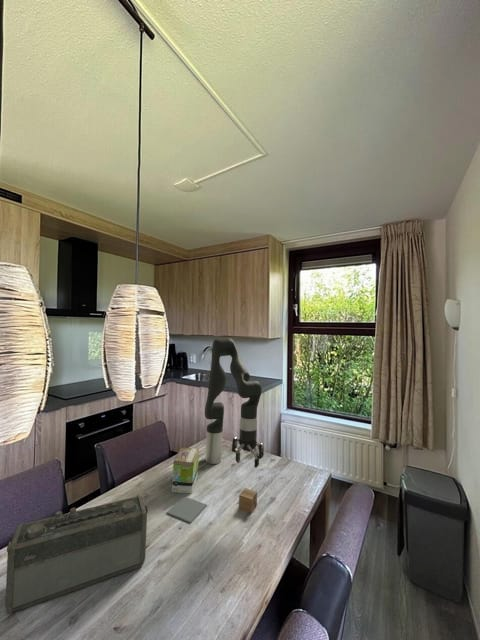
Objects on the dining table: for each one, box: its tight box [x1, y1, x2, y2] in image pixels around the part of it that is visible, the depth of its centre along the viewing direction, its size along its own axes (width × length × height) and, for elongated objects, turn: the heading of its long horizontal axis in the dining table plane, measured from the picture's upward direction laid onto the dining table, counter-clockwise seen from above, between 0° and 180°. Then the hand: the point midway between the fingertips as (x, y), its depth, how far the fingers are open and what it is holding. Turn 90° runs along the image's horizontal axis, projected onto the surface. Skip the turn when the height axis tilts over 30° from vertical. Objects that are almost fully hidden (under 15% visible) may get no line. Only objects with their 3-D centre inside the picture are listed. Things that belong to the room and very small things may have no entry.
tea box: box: [171, 447, 200, 494], centre depth 137 cm, size 15×10×15 cm, turn 179°
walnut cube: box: [238, 487, 258, 514], centre depth 122 cm, size 6×6×6 cm
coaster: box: [166, 496, 208, 524], centre depth 119 cm, size 12×12×1 cm
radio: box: [4, 494, 149, 614], centre depth 88 cm, size 38×14×20 cm, turn 118°
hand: (247, 464), depth 122 cm, fingers open, 8 cm apart
